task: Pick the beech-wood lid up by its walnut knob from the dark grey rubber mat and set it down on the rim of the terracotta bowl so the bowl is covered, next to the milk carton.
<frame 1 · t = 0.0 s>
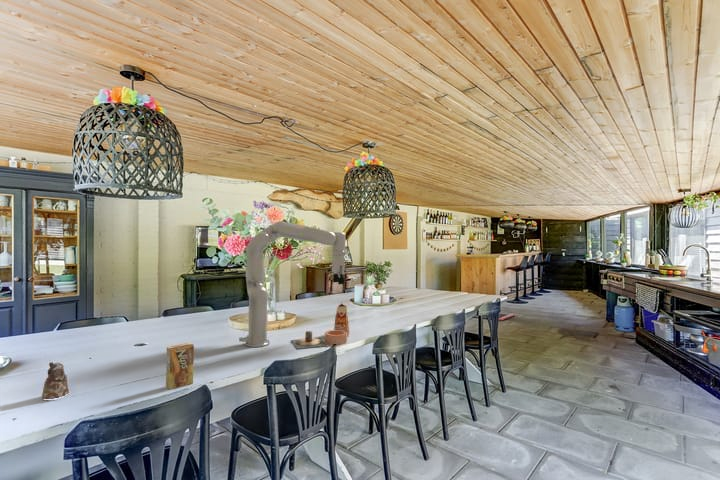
hand: (338, 283, 217), 31 cm above the table, tool pointing down, fingers open, 9 cm apart
mat: (308, 343, 202), on the table
candy box: (179, 385, 144), on the table
milk carton: (341, 334, 223), on the table
lid: (308, 342, 202), point 1 cm above the table, touching mat
bowl: (335, 341, 207), on the table
figurine: (55, 397, 132), on the table
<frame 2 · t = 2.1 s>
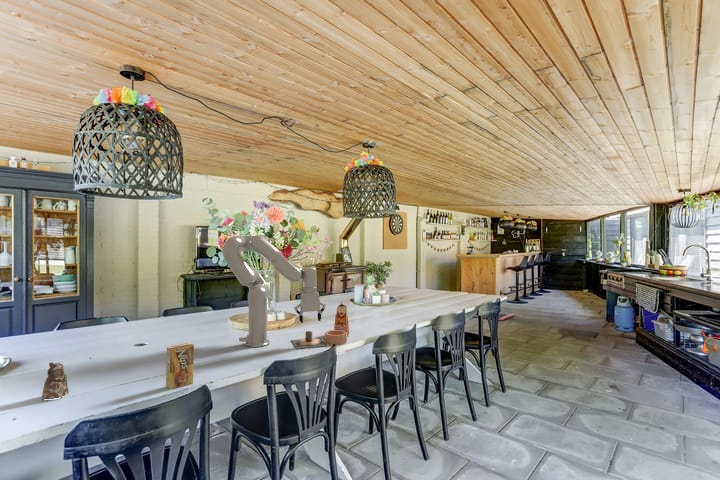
hand: (310, 321, 202), 12 cm above the table, tool pointing down, fingers open, 9 cm apart
nothing on the table moved.
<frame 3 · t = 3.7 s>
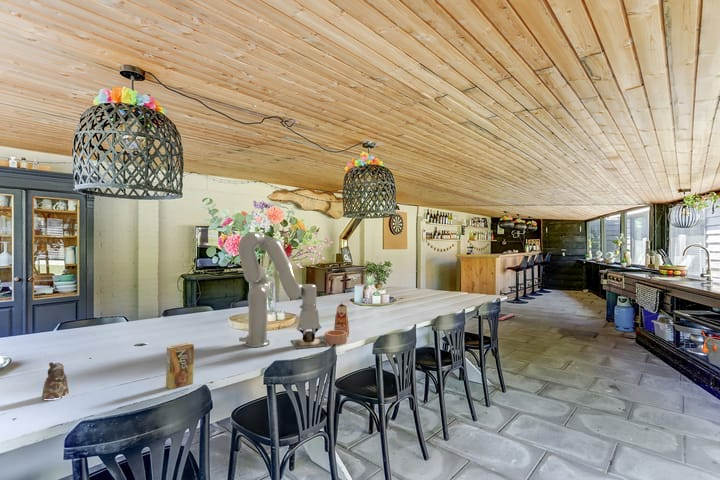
hand: (308, 340, 202), 2 cm above the table, tool pointing down, fingers closed on lid, 3 cm apart
lid: (308, 342, 202), point 1 cm above the table, touching gripper, mat
everything else where it was.
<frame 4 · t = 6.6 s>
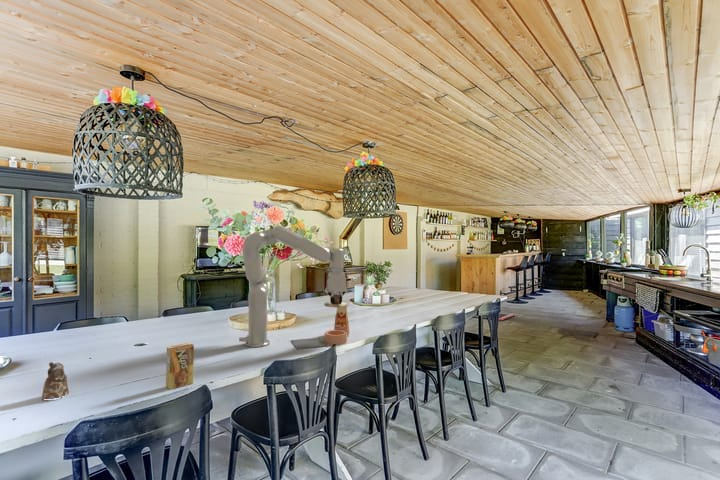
hand: (336, 303, 207), 21 cm above the table, tool pointing down, fingers closed on lid, 3 cm apart
lid: (336, 305, 207), point 20 cm above the table, touching gripper
everything else where it was.
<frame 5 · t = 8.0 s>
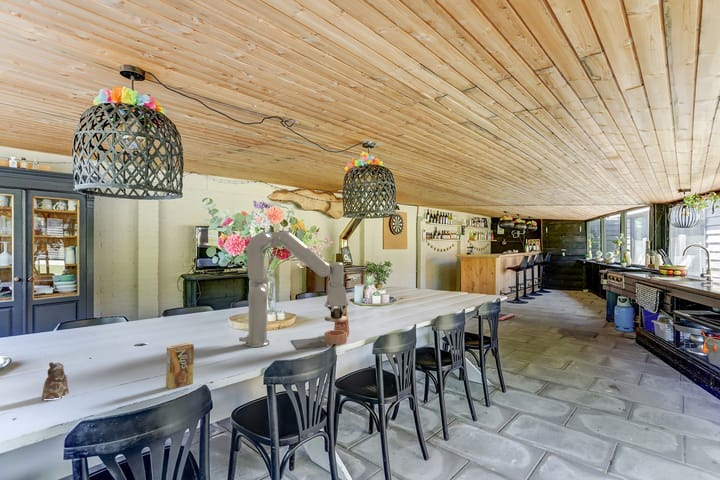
hand: (336, 317, 207), 13 cm above the table, tool pointing down, fingers closed on lid, 3 cm apart
lid: (336, 319, 207), point 12 cm above the table, touching gripper
everything else where it was.
when the fingers open (7 cm above the table, at t = 9.4 s): lid drops 1 cm, resting on bowl.
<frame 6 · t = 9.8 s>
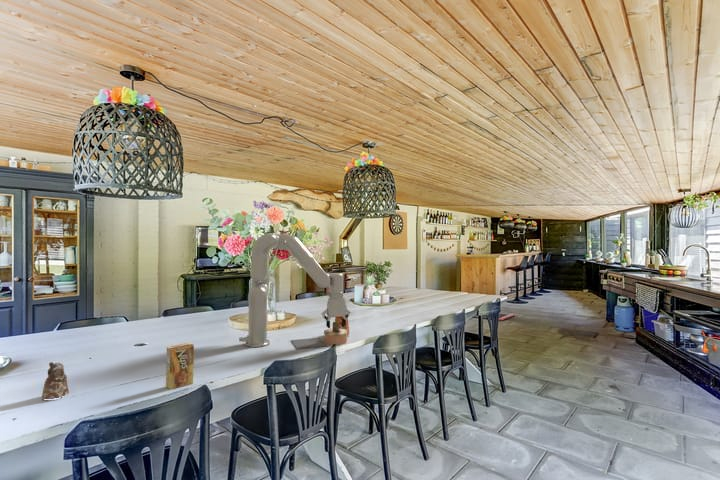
hand: (335, 327, 207), 8 cm above the table, tool pointing down, fingers open, 8 cm apart
lid: (335, 332, 207), point 5 cm above the table, touching bowl
everything else where it was.
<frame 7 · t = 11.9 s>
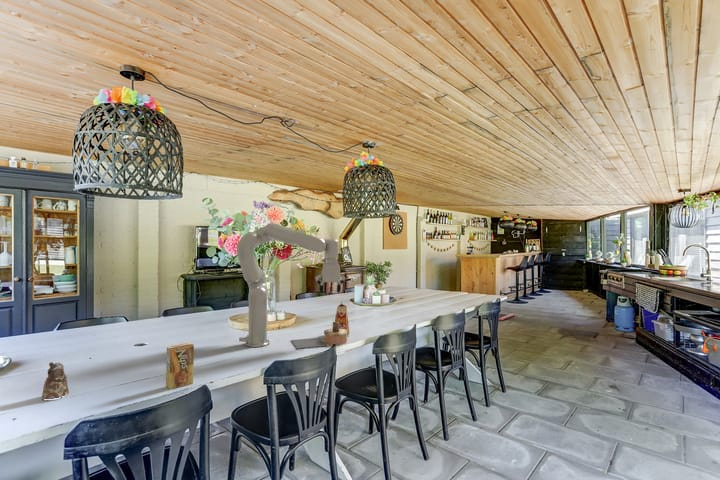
hand: (330, 292, 208), 27 cm above the table, tool pointing down, fingers open, 9 cm apart
nothing on the table moved.
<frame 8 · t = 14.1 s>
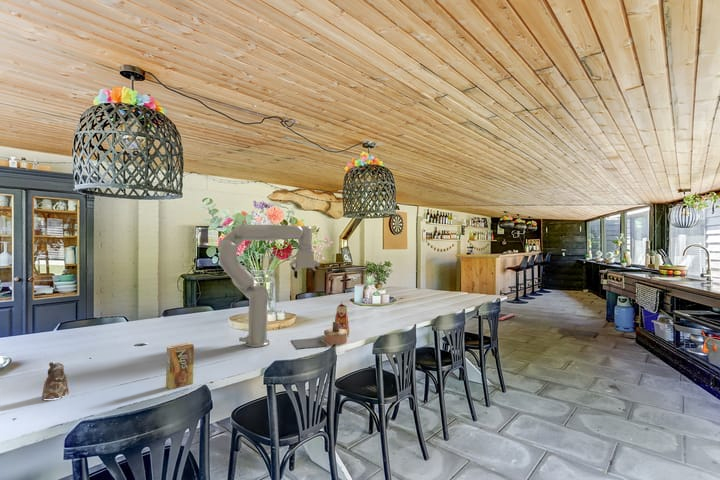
hand: (304, 277, 213), 34 cm above the table, tool pointing down, fingers open, 9 cm apart
nothing on the table moved.
at the end: lid 0.0 cm off-centre on the bowl, point 5.0 cm above the bowl's base; lid tilted 0°; the gripper is holding nothing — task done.
